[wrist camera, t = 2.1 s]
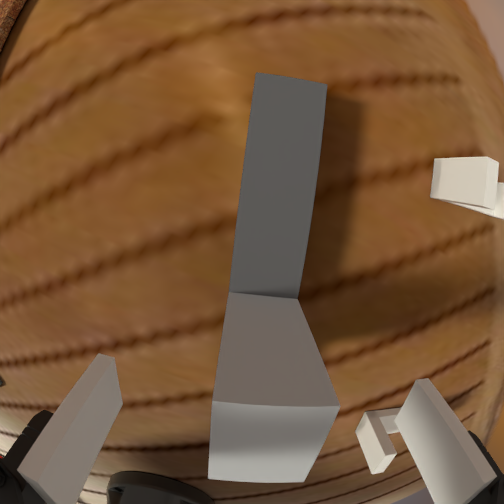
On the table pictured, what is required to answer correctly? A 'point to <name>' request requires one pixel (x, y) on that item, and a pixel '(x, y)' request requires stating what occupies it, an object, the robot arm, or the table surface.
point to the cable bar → (272, 300)
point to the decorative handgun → (8, 17)
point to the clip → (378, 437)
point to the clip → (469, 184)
